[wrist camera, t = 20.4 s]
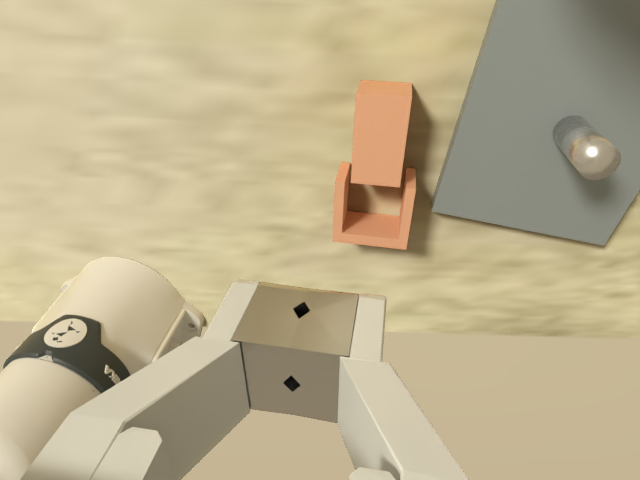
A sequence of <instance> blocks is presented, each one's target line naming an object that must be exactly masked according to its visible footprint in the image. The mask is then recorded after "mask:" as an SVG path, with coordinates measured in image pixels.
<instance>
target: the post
mask: <svg viewBox="0 0 640 480" xmlns="http://www.w3.org/2000/svg"><path fill="white" fill-rule="evenodd" d="M552 135H553V139H554V141H555V142H556V144H557V145H558V146H559V148H560V149H561V150H562V151H563V153H564V154H565V155H566V156H567V158H568V159H569V160H570V161H571V163H572V164H573V165H574V167H575V168H576V169H577V170H578V172H579V173H580V174H581V175H582V176H583V177H584V178H586V179H589V180H600V179H603V178H606V177H608V176H610V175H611V174H612V173H614V172H615V171H616V170H617V168H618V167H619V165H620V162H621V154H620V152H619V150H618V149H617V148H616V147H614V146H613V145H612V144H611V143H610V142H609V141H608V140H607V139H606V138H605V137H604V136H602V135H601V134H600V133H599V132H598V131H597V130H596V129H595V128H594V127H593V126H592V125H591V124H589V123H588V122H587V121H586V120H585V119H584V118H583V117H580V116H576V115H573V116H568V117H565V118H563V119H562V120H560V121H559V122H558V123H557V124H556V126H555V127H554V129H553V134H552Z"/></svg>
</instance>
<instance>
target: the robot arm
mask: <svg viewBox="0 0 640 480" xmlns="http://www.w3.org/2000/svg"><path fill="white" fill-rule="evenodd" d="M60 291H61V293H62V294H61V295H60V296H59V298H58V299H57V300H56V301H55V302H54V304H53V305H52V306H51V307H50V308H49V309H48V311H47V312H46V313H45V314H44V315H43V317H42V318H41V319H40V320H39V322H38V323H37V324H36V325H35V326H34V328H33V330H32V334H31V335H30V336H29V337H28V338H27V339H26V340H25V341H24V342H23V343H22V344H20V345H18V347H17V348H16V349H15V350H14V351H13V352H12V355H11V356H10V357H9V358H8V359H7V360H6V362H5V364H4V367H3V370H2V371H1V372H0V480H181V479H182V478H183V477H184V476H185V475H186V474H187V473H188V472H189V471H190V470H191V469H192V468H193V467H194V466H195V465H196V464H197V463H198V462H199V461H200V460H201V459H202V458H203V457H204V456H205V455H206V454H207V453H208V452H209V451H210V450H212V449H213V448H214V447H215V446H216V445H217V444H218V443H219V442H220V441H221V440H222V439H223V438H224V437H225V436H226V435H227V434H228V433H229V432H230V431H231V430H232V429H233V428H234V427H235V426H236V425H237V424H238V423H239V422H240V421H241V420H242V419H243V418H244V417H245V416H246V415H247V414H248V413H249V412H250V409H254V410H261V411H269V412H277V413H284V414H291V415H297V416H302V417H308V418H313V419H318V420H323V421H328V422H334V423H338V428H339V430H340V433H341V435H342V438H343V440H344V443H345V445H346V448H347V450H348V453H349V455H350V458H351V460H352V463H353V465H354V468H355V471H354V472H353V473H351V474H350V477H349V480H468V478H467V477H466V475H465V474H464V472H463V471H462V470H461V468H460V466H459V465H458V463H457V462H456V460H455V459H454V457H453V456H452V454H451V453H450V451H449V450H448V448H447V447H446V446H445V444H444V442H443V441H442V440H441V438H440V437H439V436H438V434H437V432H436V431H435V429H434V428H433V426H432V425H431V423H430V422H429V420H428V419H427V417H426V416H425V414H424V413H423V411H422V410H421V409H420V407H419V405H418V404H417V403H416V401H415V400H414V398H413V396H412V395H411V394H410V392H409V391H408V389H407V388H406V386H405V385H404V383H403V382H402V380H401V379H400V377H399V376H398V374H397V373H396V371H395V370H394V368H393V367H392V365H391V364H389V363H383V362H382V356H383V342H384V327H385V313H386V297H385V296H380V295H370V294H360V295H359V294H355V293H346V292H337V291H327V290H318V289H309V288H302V287H295V286H288V285H281V284H274V283H266V282H256V281H249V280H242V279H237V280H236V281H235V282H233V283H232V285H231V287H230V289H229V290H228V292H227V294H226V296H225V298H224V299H223V301H222V303H221V305H220V307H219V308H218V310H217V312H216V314H215V316H214V317H213V319H212V321H211V323H210V325H209V326H208V328H207V330H206V332H205V334H204V336H203V337H200V335H201V331H202V326H203V322H204V316H203V314H202V313H201V312H200V311H199V310H198V309H197V308H195V307H194V306H193V305H191V304H190V303H188V302H187V301H185V299H184V298H183V297H182V296H181V295H180V294H179V292H178V291H177V290H176V289H175V288H174V286H173V285H172V284H171V283H170V282H169V281H168V280H166V279H165V278H164V277H163V276H162V275H160V274H159V273H157V272H156V271H154V270H153V269H151V268H149V267H147V266H145V265H143V264H141V263H139V262H136V261H133V260H130V259H126V258H120V257H102V258H98V259H95V260H93V261H91V262H89V263H88V264H87V265H86V266H85V267H84V268H83V270H82V271H81V272H80V274H79V275H78V276H77V277H74V278H71V279H69V280H67V281H65V282H64V284H63V285H62V286H61V288H60Z"/></svg>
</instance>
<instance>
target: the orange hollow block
mask: <svg viewBox="0 0 640 480" xmlns="http://www.w3.org/2000/svg"><path fill="white" fill-rule="evenodd" d="M411 101H412V83H402V82H385V81H368V80H361V82H360V85H359V88H358V90H357V93H356V105H355V121H354V137H353V153H352V169H351V183H357V184H368V185H379V186H390V187H400V182H401V175H402V167H403V160H404V153H405V145H406V138H407V131H408V123H409V116H410V109H411ZM349 175H350V163H345V162H341V165H340V168H339V171H338V174H337V177H336V180H335V194H334V219H333V242H342V243H351V244H360V245H369V246H378V247H386V248H395V249H404V250H406V249H407V242H408V236H409V230H410V224H411V217H412V211H413V205H414V199H415V193H416V169H414V168H406V174H405V181H404V188H403V195H402V202H401V209H400V216H391V215H381V214H372V213H362V212H352V211H347V208H348V191H349Z"/></svg>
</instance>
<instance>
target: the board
mask: <svg viewBox="0 0 640 480" xmlns="http://www.w3.org/2000/svg"><path fill="white" fill-rule="evenodd" d="M573 115H576V116H580V117H583V118H584V119H585V120H586V121H587V122H588V123H589V124H591V125H592V126H593V127H594V128H595V129H596V130H597V131H598V132H599V133H600V134H601V135H602V136H604V137H605V138H606V139H607V140H608V141H609V142H610V143H611V144H612V145H613V146H614V147H616V148H617V149H618V150H619V152H620V154H621V162H620V165H619V167H618V168H617V170H616V171H615V172H614V173H612V174H611V175H610V176H608V177H606V178H603V179H600V180H589V179H586V178H584V177H583V176H582V175H581V174H580V173H579V172H578V170H577V169H576V168H575V167H574V165H573V164H572V163H571V161H570V160H569V159H568V158H567V156H566V155H565V154H564V153H563V151H562V150H561V149H560V148H559V146H558V145H557V144H556V142H555V141H554V139H553V135H552V134H553V129H554V127H555V126H556V124H557V123H558V122H559V121H560V120H562V119H563V118H565V117H568V116H573ZM639 190H640V0H496V3H495V6H494V9H493V12H492V15H491V18H490V21H489V24H488V28H487V31H486V34H485V37H484V40H483V43H482V46H481V49H480V52H479V56H478V59H477V62H476V65H475V68H474V71H473V74H472V77H471V80H470V83H469V87H468V90H467V93H466V96H465V99H464V102H463V105H462V108H461V111H460V114H459V118H458V121H457V124H456V127H455V130H454V133H453V136H452V139H451V142H450V145H449V149H448V152H447V155H446V158H445V161H444V164H443V167H442V170H441V173H440V176H439V180H438V183H437V186H436V189H435V192H434V195H433V198H432V201H431V211H432V212H437V213H442V214H447V215H452V216H457V217H462V218H467V219H472V220H477V221H482V222H487V223H492V224H497V225H502V226H507V227H512V228H517V229H522V230H527V231H532V232H537V233H542V234H547V235H552V236H557V237H562V238H567V239H572V240H577V241H582V242H587V243H592V244H597V245H602V246H604V245H605V243H606V242H607V240H608V239H609V237H610V236H611V234H612V232H613V231H614V229H615V228H616V226H617V225H618V223H619V222H620V220H621V218H622V217H623V215H624V214H625V212H626V211H627V209H628V207H629V206H630V204H631V203H632V201H633V200H634V198H635V196H636V195H637V193H638V192H639Z"/></svg>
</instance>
